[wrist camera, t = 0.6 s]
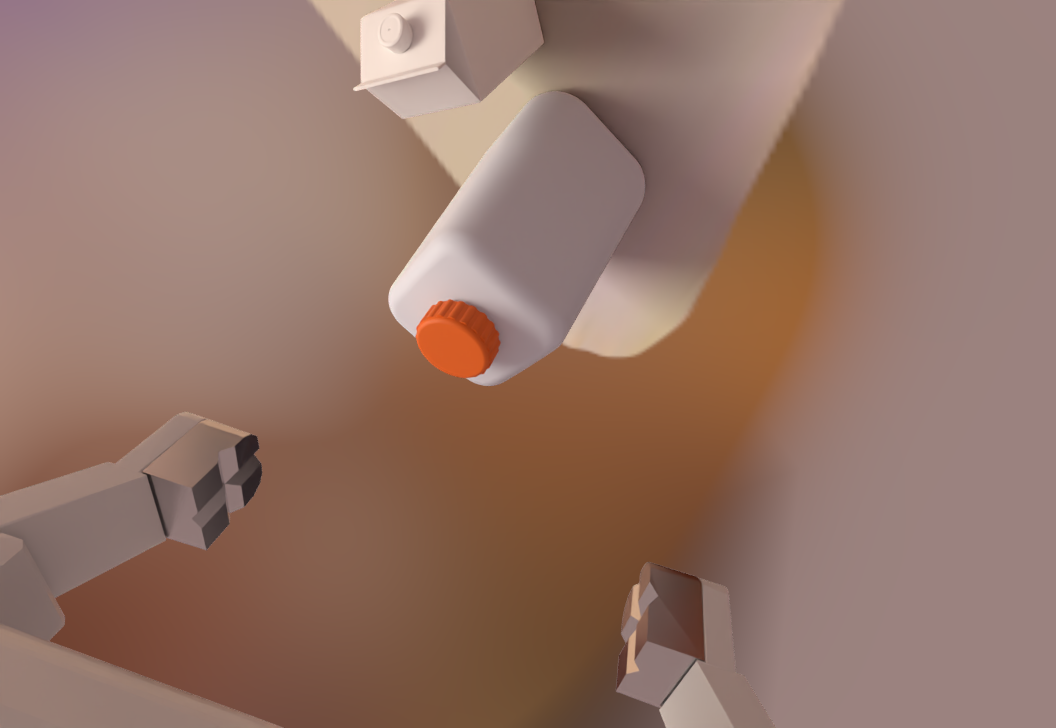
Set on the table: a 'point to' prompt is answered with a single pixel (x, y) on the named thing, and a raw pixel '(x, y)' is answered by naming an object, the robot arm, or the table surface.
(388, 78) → the milk carton
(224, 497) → the robot arm
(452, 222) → the plastic bottle
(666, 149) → the table surface
